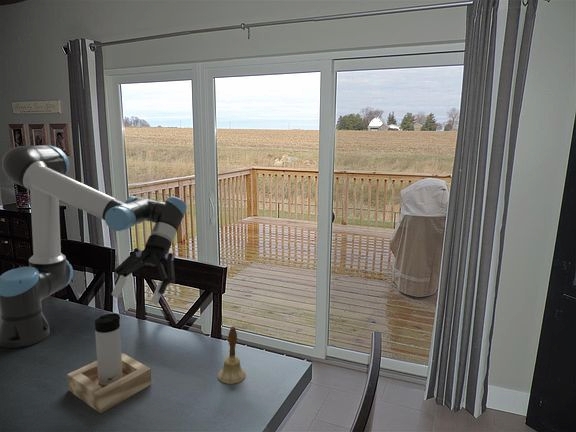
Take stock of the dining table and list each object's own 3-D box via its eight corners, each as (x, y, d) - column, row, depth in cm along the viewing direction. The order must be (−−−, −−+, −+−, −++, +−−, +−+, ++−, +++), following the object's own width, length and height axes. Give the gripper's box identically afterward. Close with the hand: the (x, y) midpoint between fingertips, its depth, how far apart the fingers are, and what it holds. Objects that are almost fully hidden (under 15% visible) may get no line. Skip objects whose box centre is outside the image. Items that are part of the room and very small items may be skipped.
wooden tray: (68, 390, 112) (67, 374, 111) (119, 365, 124) (118, 350, 123) (100, 413, 103) (99, 396, 102) (151, 384, 116) (150, 368, 115)
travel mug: (114, 390, 110) (111, 322, 106) (93, 386, 111) (89, 319, 107) (128, 377, 116) (125, 312, 112) (107, 374, 117) (104, 309, 113)
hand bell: (250, 371, 124) (251, 323, 121) (238, 387, 116) (238, 336, 113) (225, 365, 127) (226, 318, 123) (212, 380, 119) (212, 330, 116)
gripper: (199, 249, 132) (175, 310, 121) (133, 240, 139) (105, 298, 128) (191, 237, 126) (165, 301, 115) (122, 229, 133) (92, 288, 121)
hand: (133, 299), depth 121 cm, fingers open, 13 cm apart
